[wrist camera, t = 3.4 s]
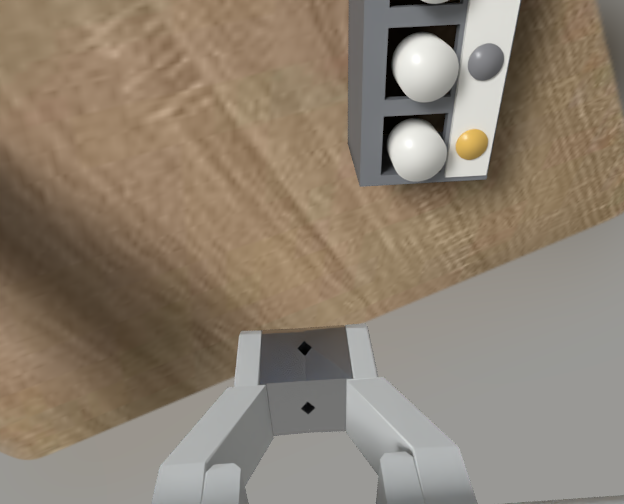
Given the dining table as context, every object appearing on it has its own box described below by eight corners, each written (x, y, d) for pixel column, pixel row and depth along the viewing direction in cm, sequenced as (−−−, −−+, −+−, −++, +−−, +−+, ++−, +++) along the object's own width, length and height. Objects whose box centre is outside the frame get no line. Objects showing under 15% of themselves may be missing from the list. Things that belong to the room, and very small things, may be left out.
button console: (454, 137, 42) (486, 179, 35) (347, 143, 42) (359, 186, 35) (489, -105, 32) (542, -109, 25) (349, -99, 32) (366, -101, 25)
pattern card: (484, 173, 35) (487, 176, 35) (444, 175, 35) (446, 178, 35) (536, -97, 26) (541, -97, 25) (481, -95, 26) (484, -94, 25)
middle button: (443, 88, 32) (454, 100, 30) (389, 91, 32) (396, 103, 30) (450, 29, 30) (462, 39, 28) (392, 32, 30) (401, 42, 27)
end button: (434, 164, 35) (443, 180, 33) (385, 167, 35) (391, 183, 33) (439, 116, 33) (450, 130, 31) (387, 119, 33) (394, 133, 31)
